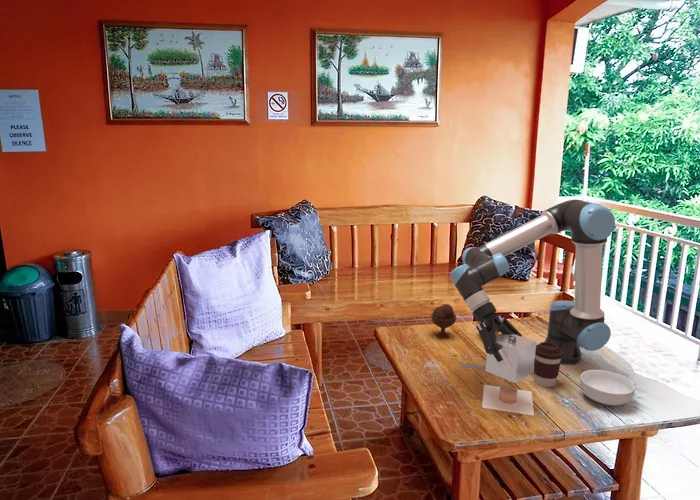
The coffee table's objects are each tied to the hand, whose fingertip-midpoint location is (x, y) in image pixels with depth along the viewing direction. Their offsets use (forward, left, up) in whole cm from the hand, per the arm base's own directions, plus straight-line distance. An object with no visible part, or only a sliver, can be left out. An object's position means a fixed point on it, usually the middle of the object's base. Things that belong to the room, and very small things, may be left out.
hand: (517, 364), depth 168 cm
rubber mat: (+12, -19, -15) cm, 27 cm away
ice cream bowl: (+29, -52, -15) cm, 61 cm away
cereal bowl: (-30, -14, -15) cm, 36 cm away
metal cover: (+2, -1, -4) cm, 5 cm away
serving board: (+2, -2, -15) cm, 15 cm away
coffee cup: (-11, -19, -15) cm, 26 cm away
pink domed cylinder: (+2, -2, -14) cm, 14 cm away
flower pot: (+10, -57, -15) cm, 59 cm away
